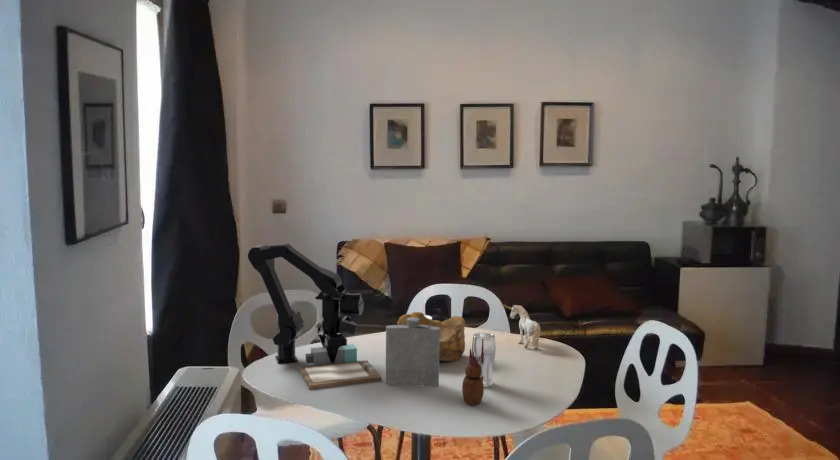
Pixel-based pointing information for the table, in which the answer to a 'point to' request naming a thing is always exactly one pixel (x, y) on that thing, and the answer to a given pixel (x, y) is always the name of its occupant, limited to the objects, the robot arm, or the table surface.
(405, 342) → the hip flask
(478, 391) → the wooden figurine
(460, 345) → the rough brown rock
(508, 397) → the table surface
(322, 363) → the marker
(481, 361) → the beer glass
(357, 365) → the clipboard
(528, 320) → the unicorn figurine
